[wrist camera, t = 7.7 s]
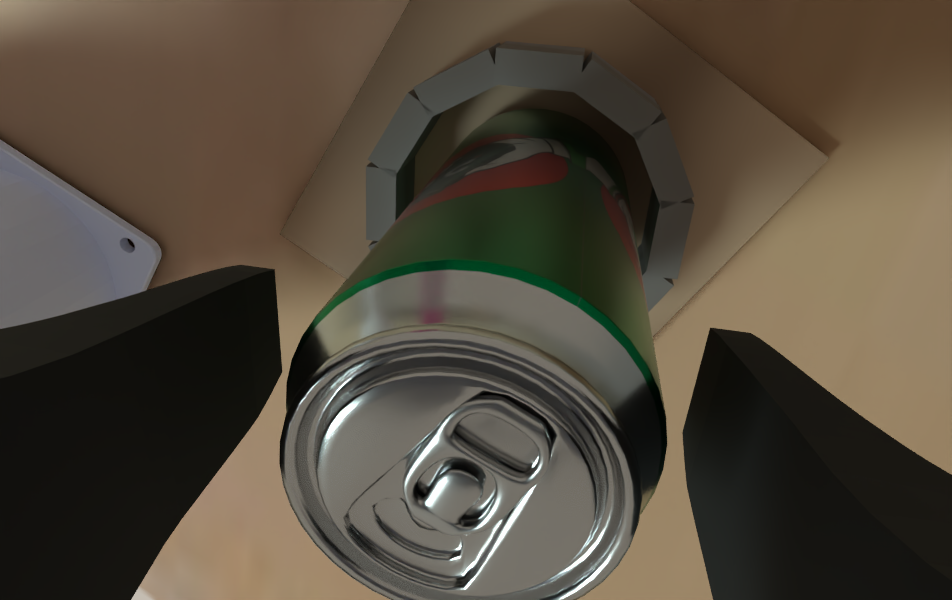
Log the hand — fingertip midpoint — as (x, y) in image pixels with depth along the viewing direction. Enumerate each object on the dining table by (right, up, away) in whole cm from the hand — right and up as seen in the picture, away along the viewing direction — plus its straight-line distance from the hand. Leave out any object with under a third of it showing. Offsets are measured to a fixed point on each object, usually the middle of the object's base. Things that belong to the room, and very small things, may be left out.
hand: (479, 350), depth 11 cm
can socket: (+1, +4, +8) cm, 9 cm away
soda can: (+2, +4, +8) cm, 9 cm away
